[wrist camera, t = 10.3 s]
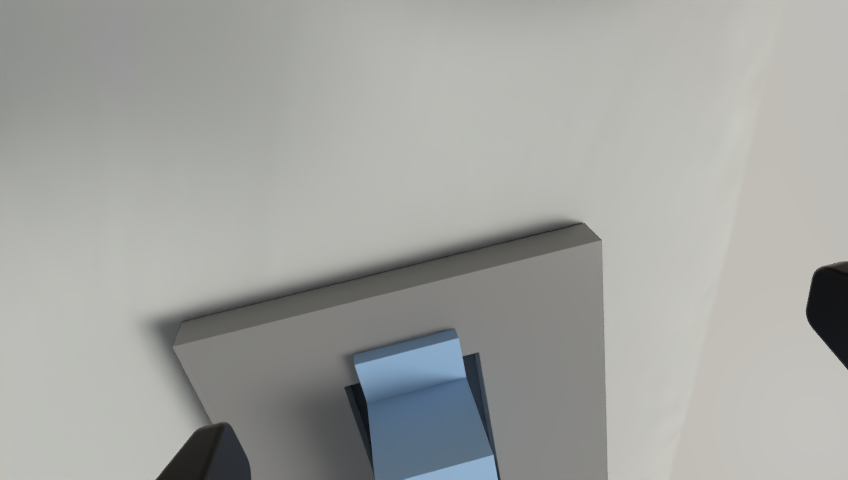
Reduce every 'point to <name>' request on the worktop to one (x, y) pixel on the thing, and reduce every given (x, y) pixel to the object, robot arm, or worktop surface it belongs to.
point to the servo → (423, 412)
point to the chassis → (406, 320)
